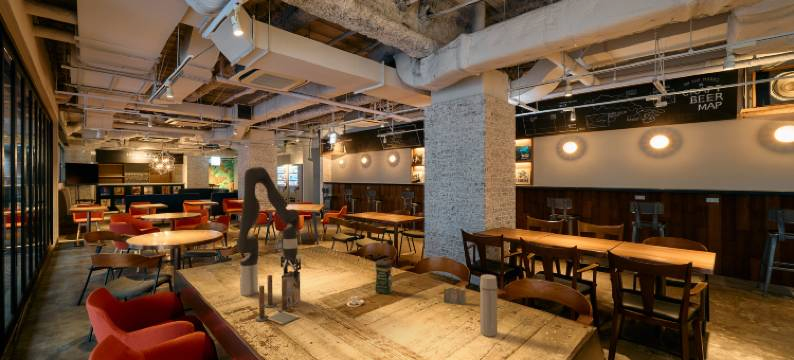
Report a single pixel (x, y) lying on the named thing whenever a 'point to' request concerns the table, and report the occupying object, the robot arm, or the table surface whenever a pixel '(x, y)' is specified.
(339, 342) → the table surface
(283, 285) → the post
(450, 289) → the architectural model on board
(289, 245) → the robot arm
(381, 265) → the coffee jar
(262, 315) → the post
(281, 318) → the pad
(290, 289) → the coffee box
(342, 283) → the table surface
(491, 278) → the water bottle
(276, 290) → the table surface
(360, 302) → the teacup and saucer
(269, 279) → the post
